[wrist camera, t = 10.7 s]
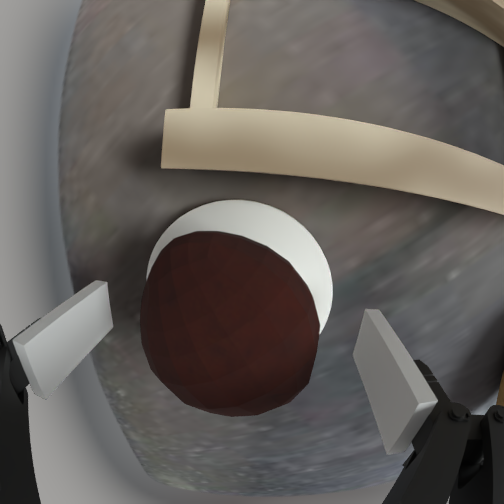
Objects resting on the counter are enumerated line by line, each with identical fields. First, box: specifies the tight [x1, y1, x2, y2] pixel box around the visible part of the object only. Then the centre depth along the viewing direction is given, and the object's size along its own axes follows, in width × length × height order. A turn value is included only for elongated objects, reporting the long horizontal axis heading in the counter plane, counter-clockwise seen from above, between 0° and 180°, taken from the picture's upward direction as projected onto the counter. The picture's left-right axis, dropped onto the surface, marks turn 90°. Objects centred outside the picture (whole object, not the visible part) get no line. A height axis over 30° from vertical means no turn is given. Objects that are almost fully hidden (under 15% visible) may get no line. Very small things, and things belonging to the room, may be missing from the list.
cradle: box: [161, 0, 504, 215], centre depth 10 cm, size 17×24×4 cm
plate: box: [146, 199, 333, 334], centre depth 16 cm, size 11×11×1 cm
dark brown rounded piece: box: [140, 231, 320, 417], centre depth 12 cm, size 8×9×8 cm
